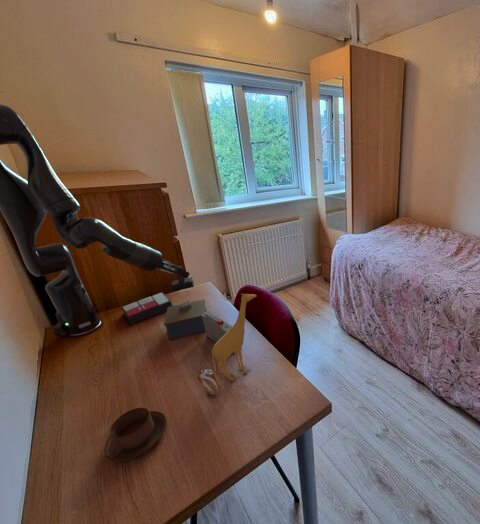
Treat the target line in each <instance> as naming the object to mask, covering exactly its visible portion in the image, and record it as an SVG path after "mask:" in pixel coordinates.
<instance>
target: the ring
mask: <svg viewBox="0 0 480 524" xmlns="http://www.w3.org/2000/svg"><path fill="white" fill-rule="evenodd" d="M196 379H197V380H198V382H199V383H200V385H201V386H202V388H203V389H204V390H206V391H207V392H208V393H209V394H210V395H213V396H215V395H217V394H218V393H219V392H220V390H221V383H220V381H219V378H218V376H217V375H216V374H215V372H214V370H213V369H211V368H206V369H205V368H204V370H203V369H201V370H200V374H198V376H197V378H196ZM205 380H207V381H209V382H211V384H212V385H213V386H214V388H215V390H214V389H213V388H211V387H210V386H208V384H207V382H206V381H205Z"/></svg>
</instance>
